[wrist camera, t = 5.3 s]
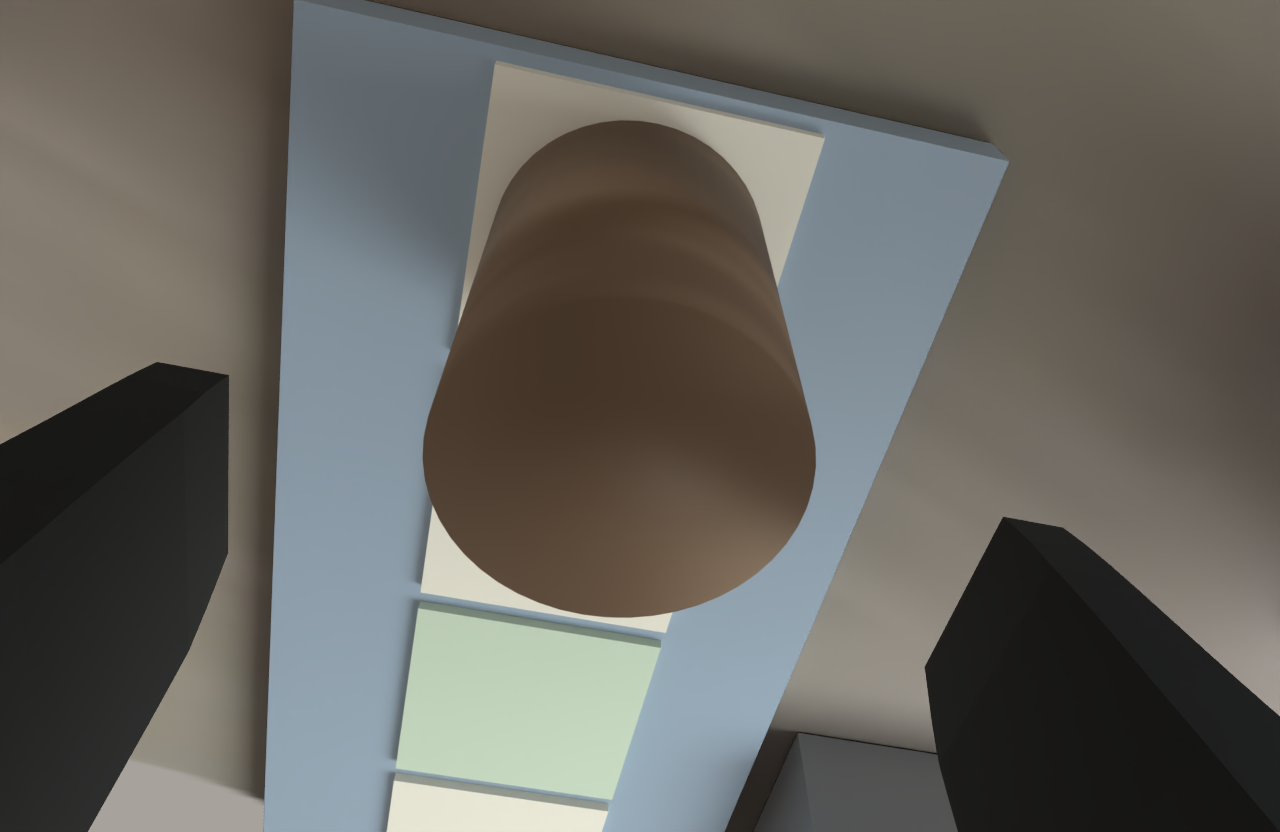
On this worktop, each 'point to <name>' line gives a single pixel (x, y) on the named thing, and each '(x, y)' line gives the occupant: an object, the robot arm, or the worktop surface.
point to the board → (406, 386)
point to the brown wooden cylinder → (622, 383)
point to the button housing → (856, 790)
